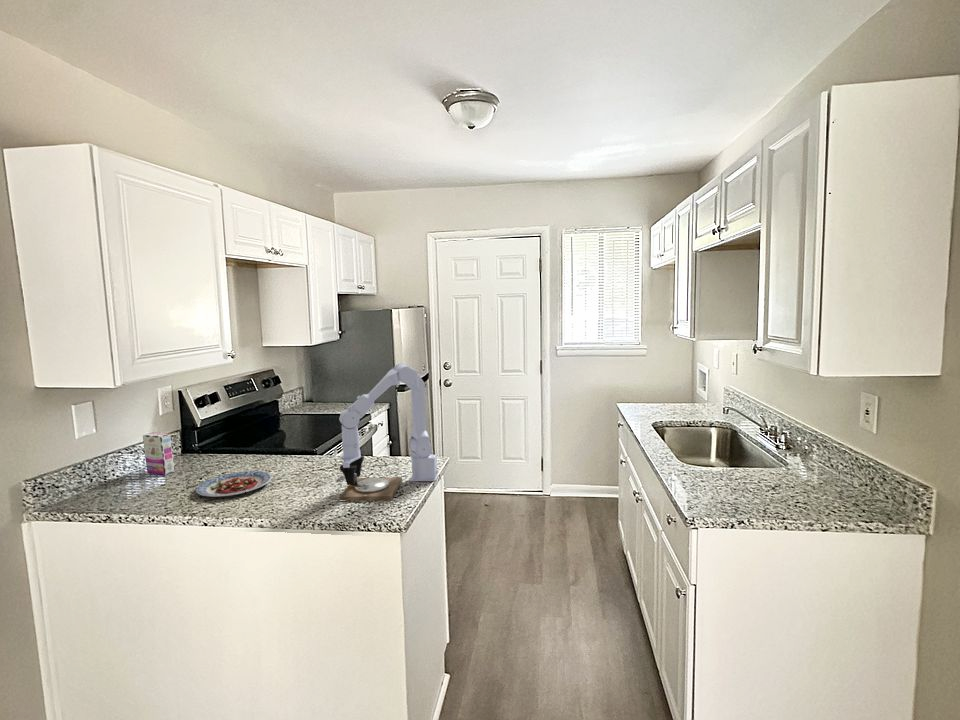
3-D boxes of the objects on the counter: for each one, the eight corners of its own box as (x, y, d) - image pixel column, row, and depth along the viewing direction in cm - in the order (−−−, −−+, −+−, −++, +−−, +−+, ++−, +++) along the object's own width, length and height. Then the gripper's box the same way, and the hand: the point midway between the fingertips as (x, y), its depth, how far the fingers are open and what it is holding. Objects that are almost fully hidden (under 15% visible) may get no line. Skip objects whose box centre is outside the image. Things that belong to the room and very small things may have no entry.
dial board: (402, 481, 196) (401, 476, 196) (391, 500, 178) (391, 495, 178) (355, 482, 197) (354, 477, 197) (339, 501, 179) (339, 496, 179)
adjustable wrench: (344, 482, 199) (344, 477, 199) (328, 482, 200) (327, 477, 200) (366, 460, 224) (366, 456, 223) (352, 460, 224) (352, 456, 224)
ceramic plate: (286, 477, 206) (285, 470, 205) (239, 504, 181) (239, 495, 181) (231, 474, 213) (230, 467, 212) (179, 499, 188) (178, 491, 188)
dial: (392, 480, 193) (391, 467, 192) (384, 492, 181) (383, 478, 181) (355, 480, 194) (354, 468, 193) (344, 493, 182) (343, 479, 181)
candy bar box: (176, 471, 219) (171, 433, 216) (165, 475, 214) (160, 436, 212) (157, 469, 223) (153, 431, 221) (146, 473, 218) (141, 434, 216)
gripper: (346, 438, 193) (348, 473, 195) (333, 450, 179) (336, 488, 181) (365, 437, 193) (367, 473, 195) (353, 449, 178) (356, 487, 180)
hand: (353, 480), depth 188 cm, fingers open, 7 cm apart
